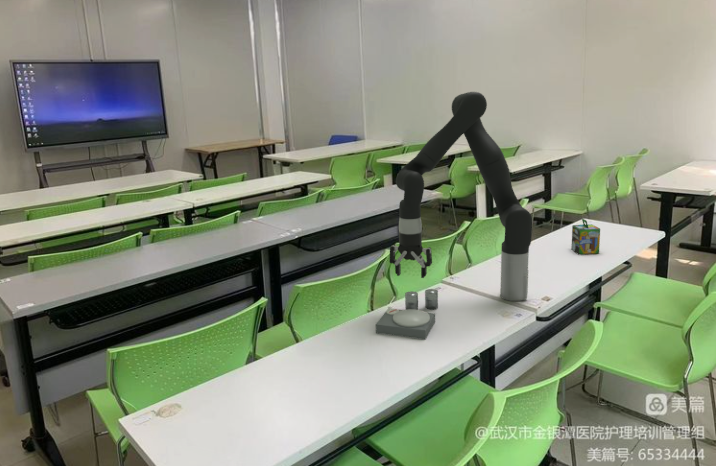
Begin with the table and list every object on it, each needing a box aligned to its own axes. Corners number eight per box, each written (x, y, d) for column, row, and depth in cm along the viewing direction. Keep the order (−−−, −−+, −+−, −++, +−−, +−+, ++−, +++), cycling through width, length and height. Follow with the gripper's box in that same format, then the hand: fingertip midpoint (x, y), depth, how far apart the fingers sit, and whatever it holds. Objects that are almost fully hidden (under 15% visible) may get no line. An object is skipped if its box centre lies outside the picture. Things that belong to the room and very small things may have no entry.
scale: (435, 321, 173) (435, 310, 172) (425, 339, 161) (425, 327, 160) (388, 316, 179) (388, 305, 178) (376, 333, 167) (375, 321, 166)
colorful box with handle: (599, 254, 233) (601, 221, 229) (578, 255, 233) (580, 222, 229) (590, 248, 242) (592, 216, 238) (570, 248, 242) (572, 217, 238)
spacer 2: (439, 305, 186) (439, 289, 184) (436, 310, 182) (436, 294, 180) (426, 304, 187) (426, 288, 186) (423, 309, 184) (423, 293, 182)
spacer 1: (419, 308, 184) (419, 292, 183) (416, 313, 181) (416, 296, 179) (407, 306, 186) (407, 290, 185) (403, 311, 182) (403, 295, 181)
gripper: (433, 228, 177) (433, 274, 181) (393, 226, 182) (394, 270, 186) (428, 234, 170) (428, 281, 174) (386, 231, 175) (387, 278, 179)
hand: (410, 276), depth 180 cm, fingers open, 8 cm apart
